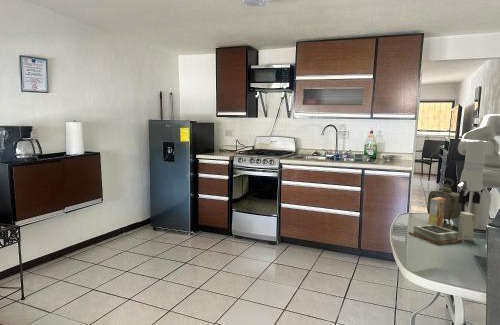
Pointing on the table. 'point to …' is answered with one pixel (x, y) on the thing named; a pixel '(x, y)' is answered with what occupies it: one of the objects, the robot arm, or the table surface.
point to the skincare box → (466, 226)
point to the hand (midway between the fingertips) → (468, 203)
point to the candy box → (437, 211)
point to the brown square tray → (436, 234)
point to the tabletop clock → (447, 202)
